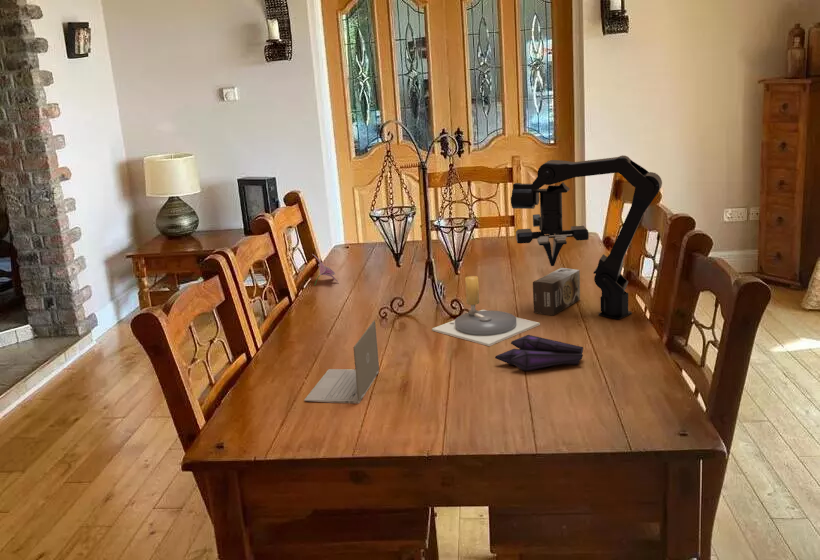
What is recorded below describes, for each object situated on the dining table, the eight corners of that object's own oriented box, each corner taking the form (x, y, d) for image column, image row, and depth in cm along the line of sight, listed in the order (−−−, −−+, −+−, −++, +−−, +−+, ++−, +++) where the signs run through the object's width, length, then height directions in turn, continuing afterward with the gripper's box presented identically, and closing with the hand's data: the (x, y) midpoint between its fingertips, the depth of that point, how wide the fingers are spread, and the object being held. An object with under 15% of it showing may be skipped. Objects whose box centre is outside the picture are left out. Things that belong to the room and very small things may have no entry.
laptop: (328, 372, 195) (323, 319, 191) (380, 372, 192) (375, 319, 189) (304, 403, 178) (297, 346, 174) (360, 404, 175) (355, 346, 172)
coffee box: (581, 300, 234) (553, 316, 222) (560, 297, 238) (532, 313, 226) (580, 269, 232) (553, 284, 220) (559, 266, 236) (531, 281, 224)
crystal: (583, 330, 191) (496, 325, 194) (586, 353, 181) (495, 347, 183) (580, 358, 194) (495, 353, 196) (584, 381, 183) (493, 376, 186)
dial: (528, 326, 213) (527, 283, 210) (475, 339, 206) (473, 295, 203) (494, 311, 227) (492, 271, 224) (444, 323, 220) (441, 281, 217)
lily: (334, 292, 264) (344, 264, 264) (299, 279, 264) (310, 251, 264) (336, 293, 276) (346, 266, 276) (303, 281, 276) (313, 254, 276)
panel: (539, 324, 216) (539, 321, 216) (489, 346, 203) (488, 342, 203) (482, 311, 230) (482, 308, 230) (432, 330, 218) (431, 327, 217)
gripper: (582, 201, 226) (582, 256, 230) (513, 205, 227) (515, 260, 231) (588, 208, 215) (589, 266, 219) (516, 212, 216) (518, 270, 220)
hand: (552, 265), depth 223 cm, fingers closed
